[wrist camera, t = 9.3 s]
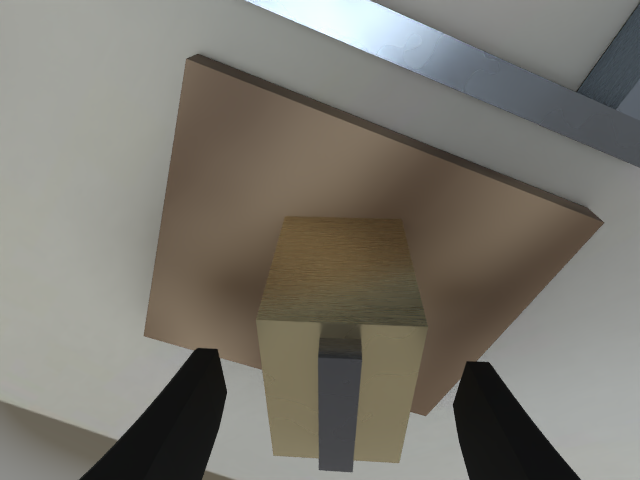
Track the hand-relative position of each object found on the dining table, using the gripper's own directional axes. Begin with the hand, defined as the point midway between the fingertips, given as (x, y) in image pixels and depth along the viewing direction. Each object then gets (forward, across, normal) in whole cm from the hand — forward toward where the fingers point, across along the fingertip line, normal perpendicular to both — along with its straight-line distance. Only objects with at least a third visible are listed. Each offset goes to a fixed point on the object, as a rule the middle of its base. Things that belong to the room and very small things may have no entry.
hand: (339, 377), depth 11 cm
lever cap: (+4, 0, 0) cm, 4 cm away
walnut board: (+5, 0, 0) cm, 5 cm away
